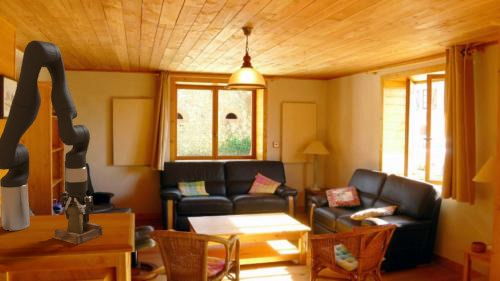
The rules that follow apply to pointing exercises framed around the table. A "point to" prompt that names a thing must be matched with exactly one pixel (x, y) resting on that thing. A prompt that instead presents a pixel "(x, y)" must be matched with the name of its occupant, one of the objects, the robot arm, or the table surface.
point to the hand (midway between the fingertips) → (77, 220)
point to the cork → (75, 220)
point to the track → (89, 233)
